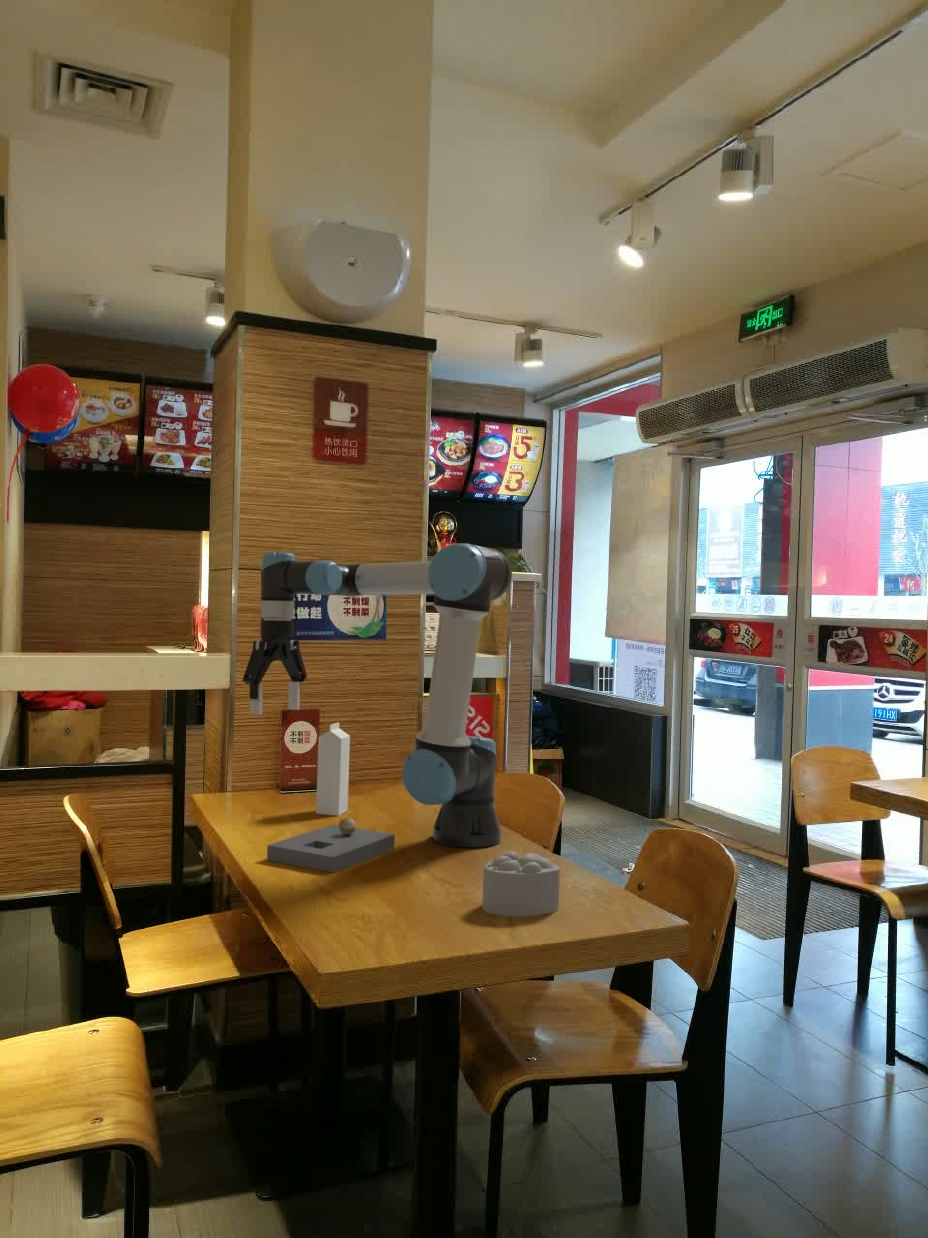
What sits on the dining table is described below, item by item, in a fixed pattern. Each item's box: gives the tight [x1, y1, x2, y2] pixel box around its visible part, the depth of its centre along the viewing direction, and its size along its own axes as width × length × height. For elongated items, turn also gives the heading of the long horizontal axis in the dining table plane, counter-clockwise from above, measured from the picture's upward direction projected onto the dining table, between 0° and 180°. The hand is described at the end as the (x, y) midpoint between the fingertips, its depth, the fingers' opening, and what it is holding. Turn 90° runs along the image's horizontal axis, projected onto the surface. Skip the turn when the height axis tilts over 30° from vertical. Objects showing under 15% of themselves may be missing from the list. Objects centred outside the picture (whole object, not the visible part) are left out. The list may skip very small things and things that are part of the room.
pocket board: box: [266, 824, 396, 874], centre depth 191 cm, size 16×22×3 cm
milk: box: [315, 722, 351, 817], centre depth 230 cm, size 6×6×22 cm
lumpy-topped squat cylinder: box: [481, 850, 561, 918], centre depth 161 cm, size 10×13×9 cm
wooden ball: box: [338, 817, 357, 835], centre depth 196 cm, size 4×4×4 cm
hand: (275, 711), depth 216 cm, fingers open, 13 cm apart
